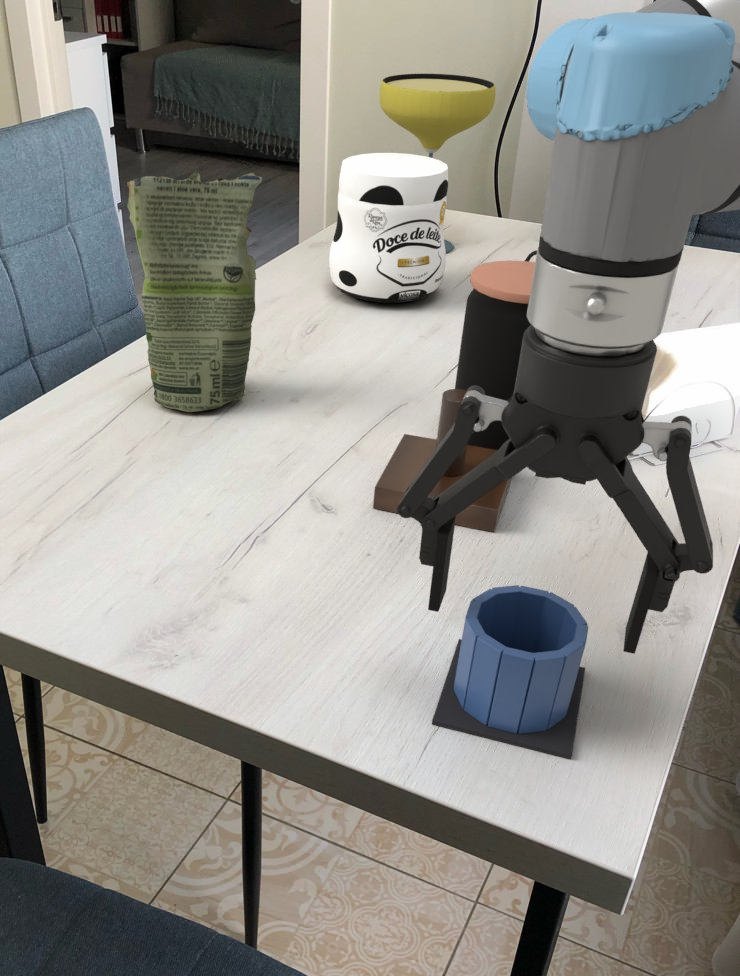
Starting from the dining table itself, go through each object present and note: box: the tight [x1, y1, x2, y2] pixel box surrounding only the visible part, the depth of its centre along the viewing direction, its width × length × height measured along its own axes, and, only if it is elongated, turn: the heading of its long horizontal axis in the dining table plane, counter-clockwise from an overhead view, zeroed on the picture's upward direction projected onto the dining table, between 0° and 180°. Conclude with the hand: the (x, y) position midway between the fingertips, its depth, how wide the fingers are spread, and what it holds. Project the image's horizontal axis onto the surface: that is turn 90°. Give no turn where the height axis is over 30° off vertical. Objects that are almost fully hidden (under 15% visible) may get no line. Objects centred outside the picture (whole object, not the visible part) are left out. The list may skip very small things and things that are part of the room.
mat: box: [431, 638, 586, 760], centre depth 71 cm, size 10×10×1 cm
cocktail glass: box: [378, 73, 496, 254], centre depth 154 cm, size 18×18×25 cm
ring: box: [454, 584, 589, 734], centre depth 69 cm, size 8×8×7 cm
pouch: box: [126, 169, 263, 413], centre depth 105 cm, size 11×12×25 cm
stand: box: [372, 388, 513, 533], centre depth 92 cm, size 12×12×10 cm
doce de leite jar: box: [328, 152, 449, 304], centre depth 137 cm, size 17×17×18 cm
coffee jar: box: [454, 260, 535, 450], centre depth 99 cm, size 11×11×18 cm
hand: (530, 620), depth 67 cm, fingers open, 13 cm apart
